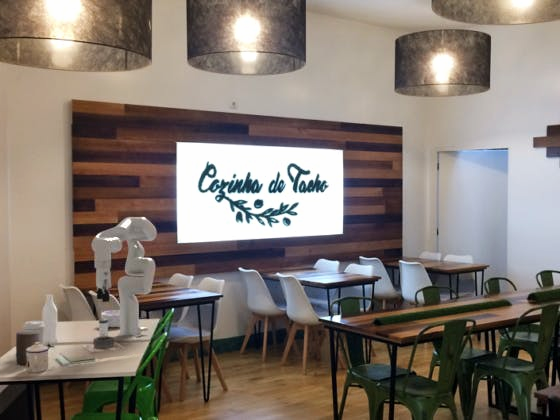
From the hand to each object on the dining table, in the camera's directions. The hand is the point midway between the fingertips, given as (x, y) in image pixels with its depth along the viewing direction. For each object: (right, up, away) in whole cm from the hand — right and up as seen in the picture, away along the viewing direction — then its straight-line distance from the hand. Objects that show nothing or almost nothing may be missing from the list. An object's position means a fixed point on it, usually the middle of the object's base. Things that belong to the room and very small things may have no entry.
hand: (103, 300), depth 307 cm
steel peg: (0, -22, +1) cm, 22 cm away
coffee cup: (-30, -24, -8) cm, 39 cm away
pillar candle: (-27, -25, -22) cm, 43 cm away
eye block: (0, -24, +1) cm, 24 cm away
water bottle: (-29, -24, +11) cm, 39 cm away
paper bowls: (-9, -23, +58) cm, 63 cm away
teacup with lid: (-18, -25, -36) cm, 47 cm away
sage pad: (-7, -24, -19) cm, 31 cm away
